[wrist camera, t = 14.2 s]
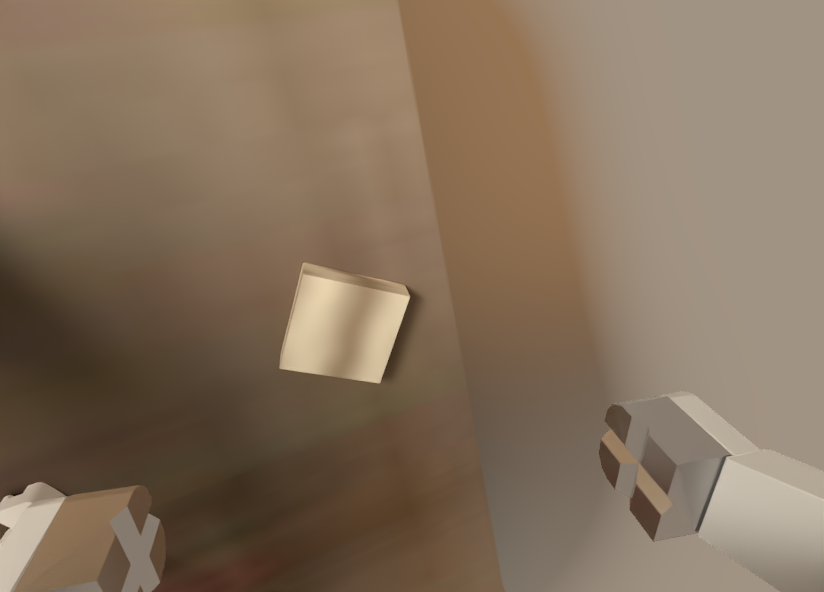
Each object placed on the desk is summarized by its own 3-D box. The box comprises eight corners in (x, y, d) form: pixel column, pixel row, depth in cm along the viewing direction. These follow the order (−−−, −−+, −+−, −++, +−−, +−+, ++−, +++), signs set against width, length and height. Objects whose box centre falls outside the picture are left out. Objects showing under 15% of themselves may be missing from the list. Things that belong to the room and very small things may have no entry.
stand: (280, 352, 42) (279, 368, 40) (303, 262, 39) (303, 274, 37) (376, 367, 45) (379, 383, 43) (404, 284, 42) (410, 296, 40)
